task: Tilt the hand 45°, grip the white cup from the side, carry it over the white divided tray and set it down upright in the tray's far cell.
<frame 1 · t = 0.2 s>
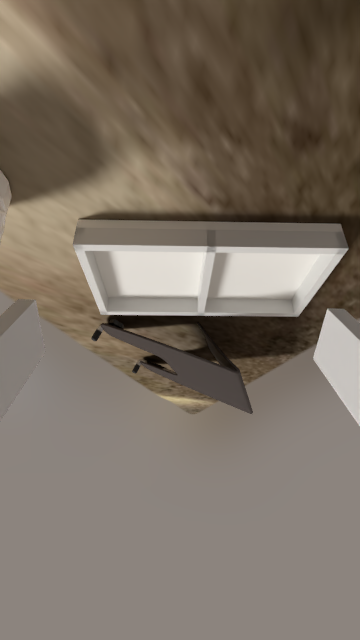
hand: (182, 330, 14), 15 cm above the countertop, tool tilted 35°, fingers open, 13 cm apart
white divided tray: (204, 264, 35), on the countertop
portable electronic device stand: (175, 336, 52), on the countertop
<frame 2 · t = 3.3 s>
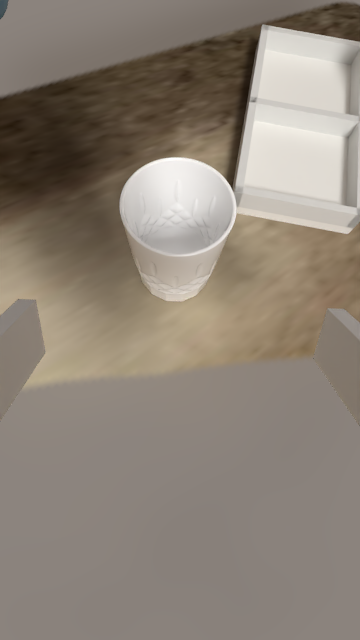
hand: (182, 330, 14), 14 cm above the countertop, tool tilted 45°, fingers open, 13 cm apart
white cup: (174, 271, 31), on the countertop
white divided tray: (296, 133, 36), on the countertop
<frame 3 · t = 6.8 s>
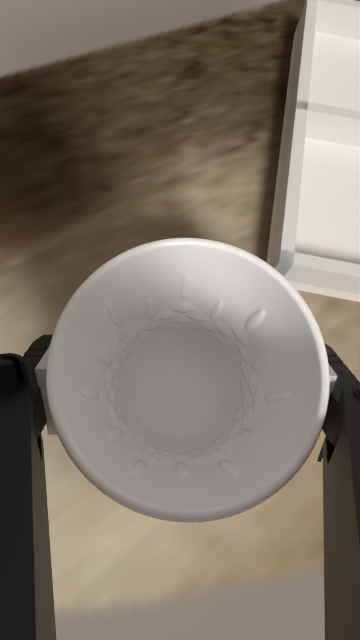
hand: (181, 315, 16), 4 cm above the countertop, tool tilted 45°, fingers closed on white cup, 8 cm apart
white cup: (177, 390, 18), on the countertop, touching gripper
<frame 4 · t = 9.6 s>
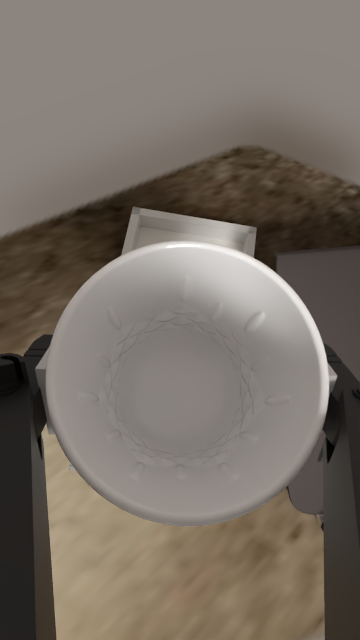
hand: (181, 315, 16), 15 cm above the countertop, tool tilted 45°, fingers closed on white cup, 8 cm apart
white cup: (177, 392, 18), point 11 cm above the countertop, touching gripper
white divided tray: (173, 340, 31), on the countertop
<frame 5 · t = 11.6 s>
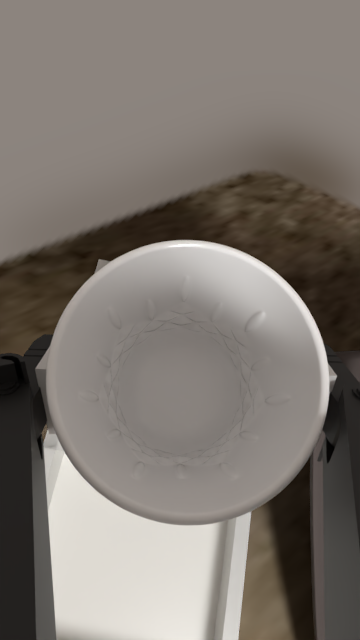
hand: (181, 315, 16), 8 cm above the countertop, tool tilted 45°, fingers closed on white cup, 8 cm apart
white cup: (177, 392, 18), point 4 cm above the countertop, touching gripper
white divided tray: (151, 455, 21), on the countertop
when the fingers open (6 cm above the countertop, at t = 12.7 s): white cup drops 1 cm, resting on white divided tray.
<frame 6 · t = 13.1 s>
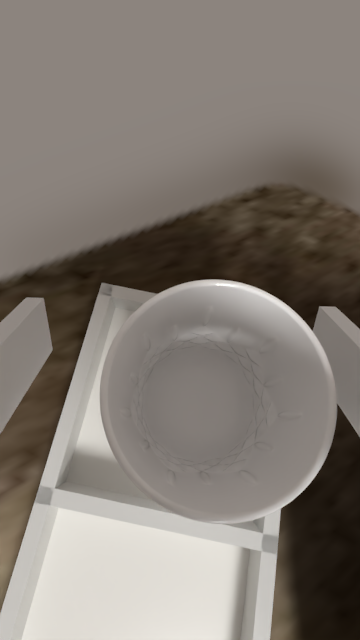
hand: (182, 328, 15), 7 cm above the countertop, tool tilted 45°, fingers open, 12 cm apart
white cup: (193, 404, 20), point 1 cm above the countertop, touching white divided tray
white divided tray: (157, 504, 19), on the countertop
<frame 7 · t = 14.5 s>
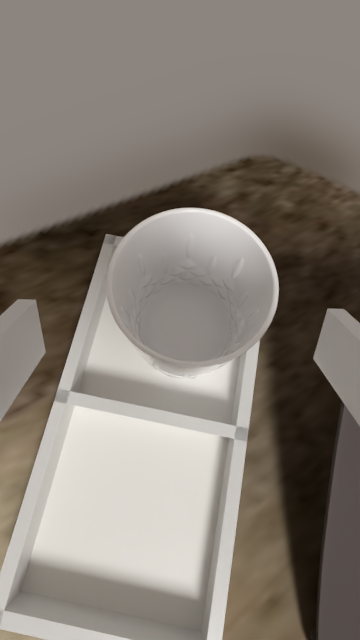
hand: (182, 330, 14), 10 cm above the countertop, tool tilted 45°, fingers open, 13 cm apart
white cup: (183, 335, 24), point 1 cm above the countertop, touching white divided tray
white divided tray: (153, 414, 23), on the countertop
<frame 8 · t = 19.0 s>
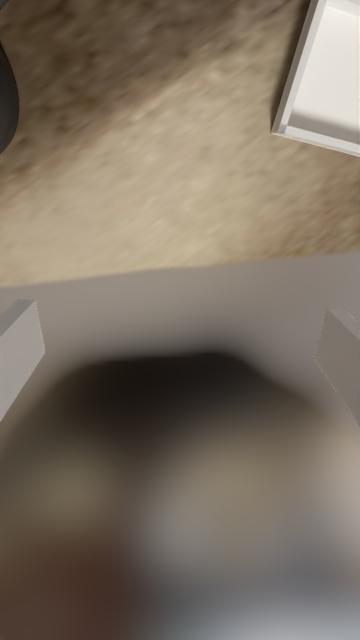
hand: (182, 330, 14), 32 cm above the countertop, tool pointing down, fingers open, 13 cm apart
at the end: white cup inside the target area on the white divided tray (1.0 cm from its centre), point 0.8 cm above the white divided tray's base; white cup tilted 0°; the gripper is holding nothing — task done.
